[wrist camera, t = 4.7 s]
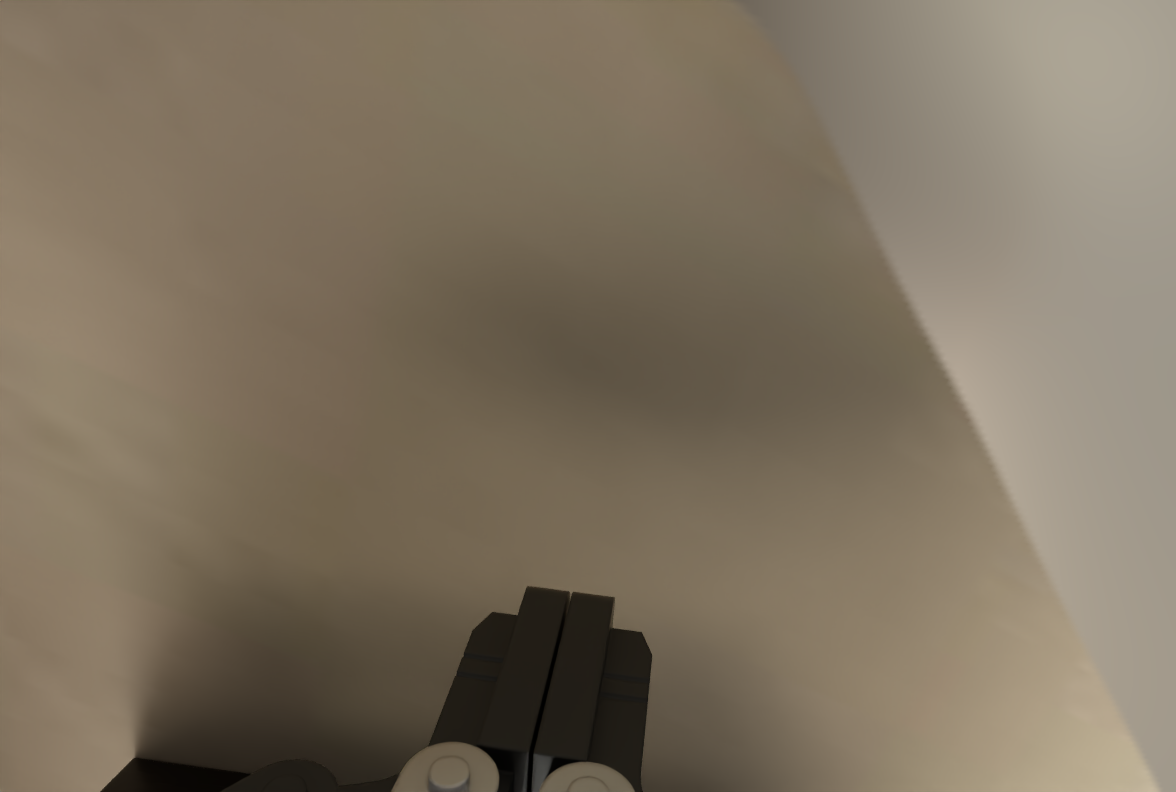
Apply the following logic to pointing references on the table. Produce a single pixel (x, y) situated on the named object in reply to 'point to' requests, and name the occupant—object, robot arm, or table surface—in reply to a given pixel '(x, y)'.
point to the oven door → (170, 778)
